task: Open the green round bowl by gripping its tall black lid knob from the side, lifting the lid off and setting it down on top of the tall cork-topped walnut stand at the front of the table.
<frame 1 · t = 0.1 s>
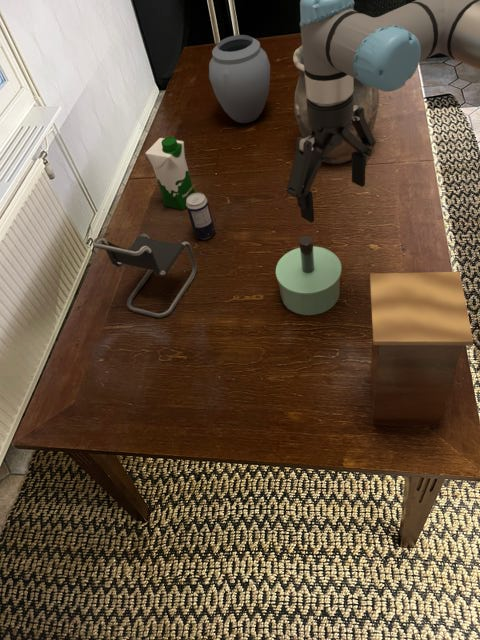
hand: (333, 201, 101), 27 cm above the table, tool pointing down, fingers open, 13 cm apart
stand: (403, 398, 103), on the table
clay pot: (336, 151, 158), on the table
vase: (246, 117, 178), on the table
cooker lid: (308, 270, 118), point 7 cm above the table, touching green round bowl
milk carton: (180, 201, 154), on the table
green round bowl: (310, 292, 124), on the table
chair: (162, 289, 132), on the table
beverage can: (205, 234, 143), on the table
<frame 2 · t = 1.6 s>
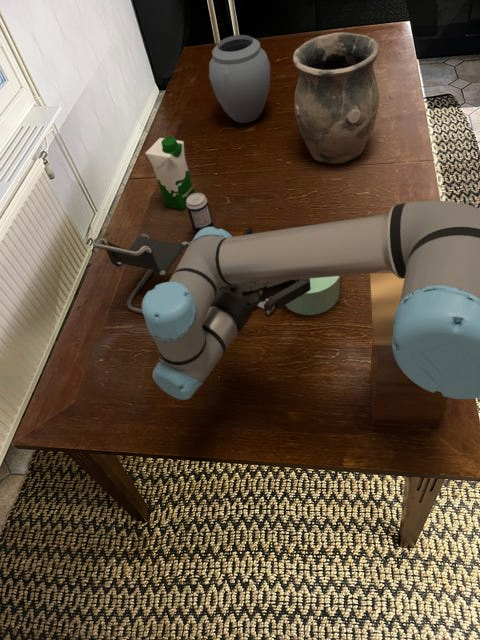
hand: (281, 241, 101), 24 cm above the table, tool horizontal, fingers open, 13 cm apart
nothing on the table moved.
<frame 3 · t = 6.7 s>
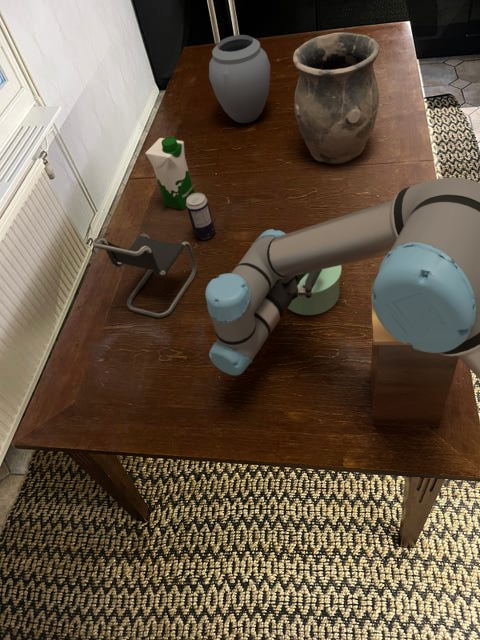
hand: (318, 233, 116), 14 cm above the table, tool horizontal, fingers closed on cooker lid, 3 cm apart
cooker lid: (308, 270, 118), point 8 cm above the table, touching gripper
everything else where it was.
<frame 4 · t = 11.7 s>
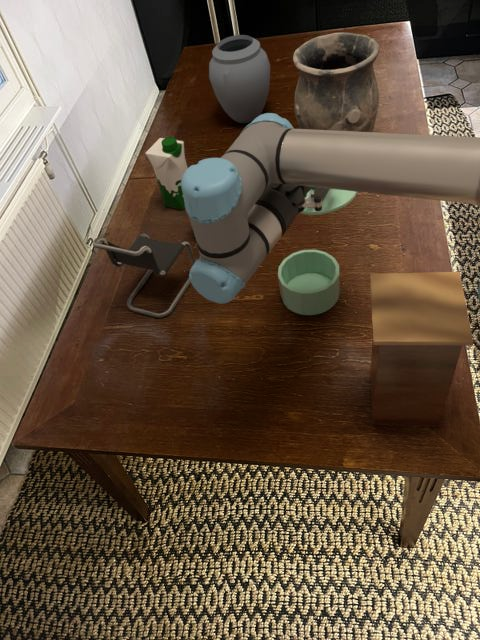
hand: (329, 139, 93), 40 cm above the table, tool horizontal, fingers closed on cooker lid, 3 cm apart
cooker lid: (317, 188, 95), point 33 cm above the table, touching gripper
everything else where it was.
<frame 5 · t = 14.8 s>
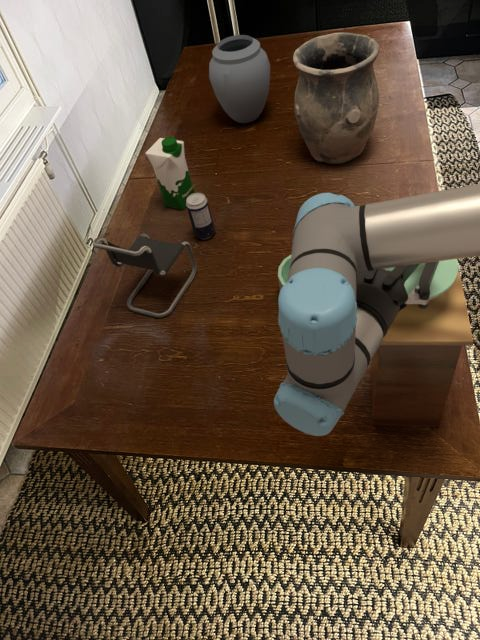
hand: (424, 210, 77), 40 cm above the table, tool horizontal, fingers closed on cooker lid, 3 cm apart
cooker lid: (406, 266, 80), point 33 cm above the table, touching gripper
everything else where it was.
when the fingers open (35 cm above the table, at t = 16.7 s): cooker lid stays where it is, resting on stand.
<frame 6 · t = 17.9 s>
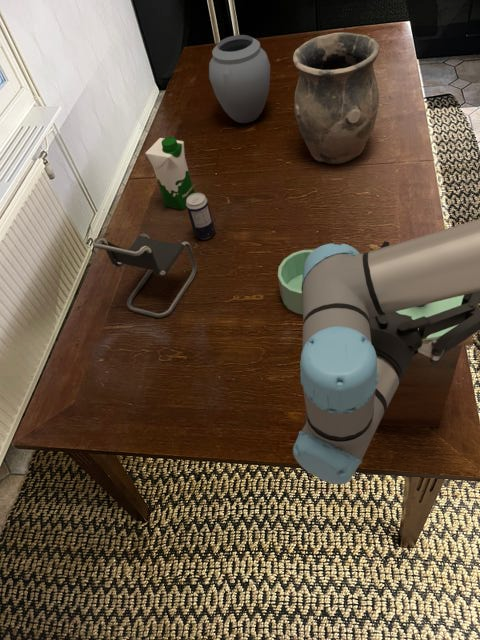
hand: (430, 260, 77), 35 cm above the table, tool horizontal, fingers open, 13 cm apart
cooker lid: (418, 302, 81), point 29 cm above the table, touching stand
everything else where it was.
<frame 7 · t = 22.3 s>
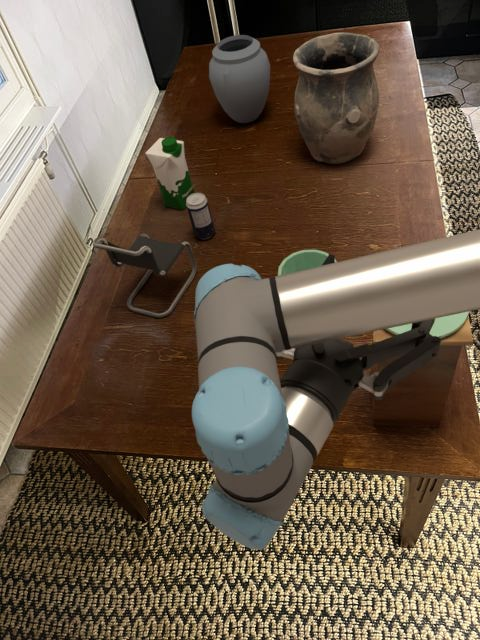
hand: (380, 276, 68), 42 cm above the table, tool horizontal, fingers open, 13 cm apart
nothing on the table moved.
at the end: cooker lid inside the target area on the stand (0.0 cm from its centre), point 28.6 cm above the stand's base; cooker lid tilted 0°; the gripper is holding nothing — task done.
